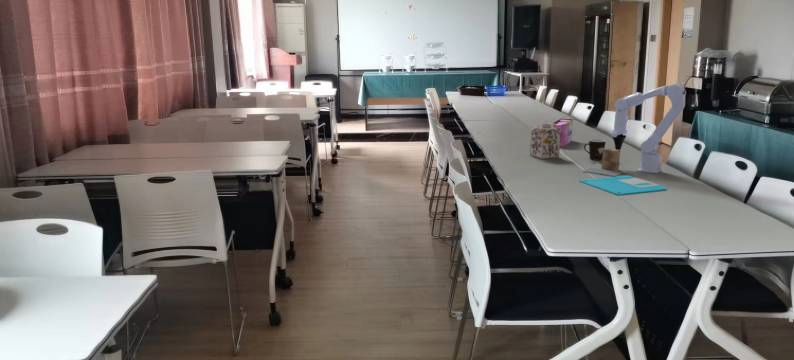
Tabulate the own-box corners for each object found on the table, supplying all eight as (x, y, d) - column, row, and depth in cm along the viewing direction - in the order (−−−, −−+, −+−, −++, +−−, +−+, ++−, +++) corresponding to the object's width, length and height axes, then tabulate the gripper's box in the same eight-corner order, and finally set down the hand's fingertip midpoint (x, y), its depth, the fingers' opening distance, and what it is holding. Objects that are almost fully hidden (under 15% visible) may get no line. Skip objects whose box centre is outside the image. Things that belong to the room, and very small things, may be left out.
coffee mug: (602, 157, 334) (603, 139, 331) (606, 160, 326) (607, 142, 323) (580, 157, 335) (581, 138, 333) (583, 160, 327) (584, 141, 324)
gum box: (563, 147, 364) (565, 124, 360) (550, 146, 367) (551, 123, 364) (571, 140, 384) (573, 119, 381) (558, 139, 388) (560, 118, 385)
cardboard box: (618, 169, 305) (620, 150, 302) (615, 171, 301) (617, 151, 299) (604, 167, 309) (606, 148, 307) (601, 169, 306) (603, 149, 303)
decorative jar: (559, 157, 333) (561, 124, 329) (541, 159, 329) (543, 125, 325) (546, 153, 344) (548, 121, 340) (528, 155, 340) (530, 122, 335)
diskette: (578, 182, 281) (578, 180, 281) (628, 177, 291) (628, 175, 291) (617, 196, 257) (617, 194, 257) (670, 190, 267) (670, 188, 267)
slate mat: (623, 173, 297) (623, 172, 297) (615, 176, 290) (615, 175, 290) (591, 168, 308) (591, 167, 307) (583, 171, 300) (583, 170, 300)
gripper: (618, 120, 314) (615, 146, 317) (606, 123, 303) (604, 150, 306) (631, 121, 310) (629, 148, 313) (621, 124, 299) (618, 152, 302)
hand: (617, 149), depth 309 cm, fingers closed
